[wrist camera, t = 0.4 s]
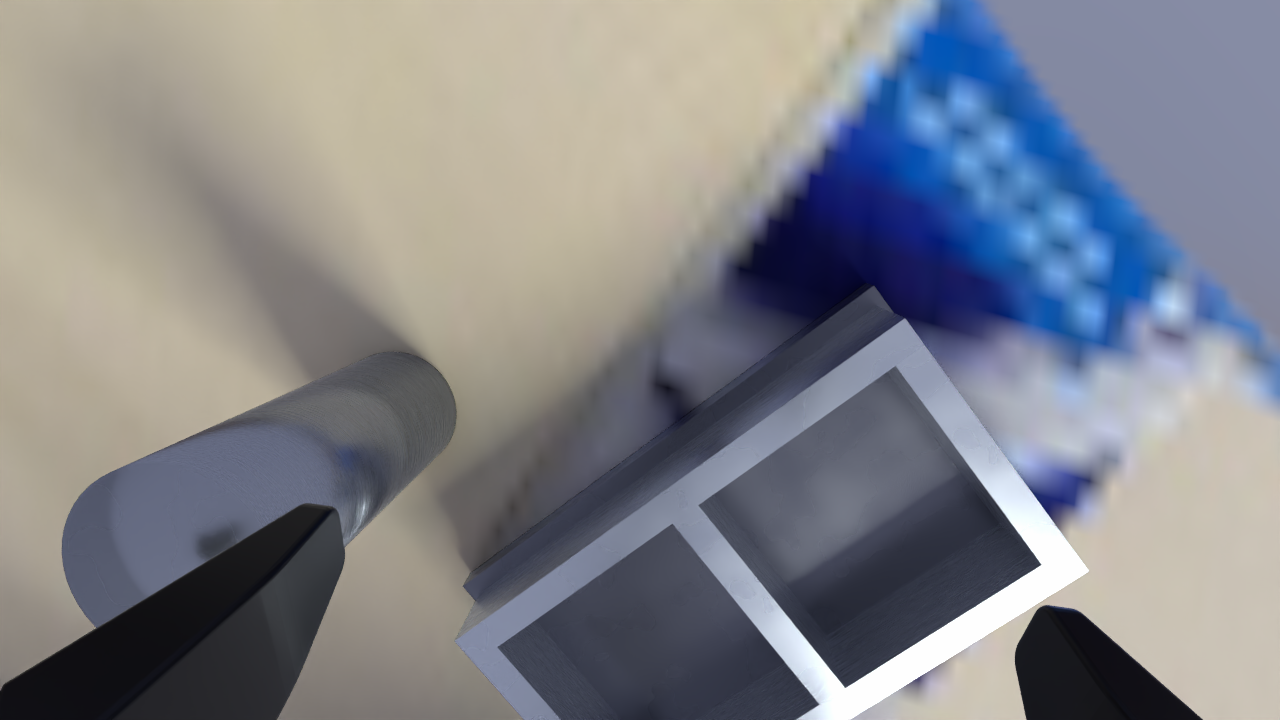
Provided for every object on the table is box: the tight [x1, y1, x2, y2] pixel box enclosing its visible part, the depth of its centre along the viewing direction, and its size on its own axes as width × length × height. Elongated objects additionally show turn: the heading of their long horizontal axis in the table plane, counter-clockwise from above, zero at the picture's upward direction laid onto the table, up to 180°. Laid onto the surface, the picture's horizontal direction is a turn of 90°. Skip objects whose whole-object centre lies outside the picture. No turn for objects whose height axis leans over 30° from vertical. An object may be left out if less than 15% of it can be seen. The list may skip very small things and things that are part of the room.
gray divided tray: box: [455, 283, 1089, 720], centre depth 25 cm, size 18×11×4 cm, turn 128°
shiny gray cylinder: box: [62, 352, 456, 628], centre depth 20 cm, size 4×4×12 cm
